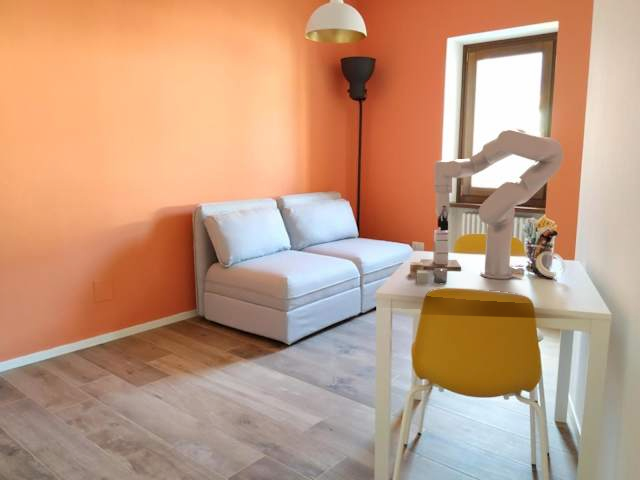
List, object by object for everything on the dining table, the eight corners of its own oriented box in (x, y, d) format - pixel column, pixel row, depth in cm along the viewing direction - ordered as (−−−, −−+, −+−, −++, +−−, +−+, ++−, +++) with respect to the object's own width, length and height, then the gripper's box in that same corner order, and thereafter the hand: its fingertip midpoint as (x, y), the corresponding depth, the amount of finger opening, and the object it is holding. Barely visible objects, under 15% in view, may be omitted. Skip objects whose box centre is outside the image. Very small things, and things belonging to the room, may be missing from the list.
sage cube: (426, 280, 206) (427, 270, 205) (427, 283, 202) (428, 273, 202) (416, 280, 207) (416, 270, 206) (417, 282, 203) (417, 272, 202)
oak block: (422, 274, 217) (422, 262, 216) (423, 277, 212) (423, 265, 211) (409, 273, 217) (410, 262, 216) (410, 276, 212) (410, 264, 211)
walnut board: (456, 263, 236) (456, 259, 235) (461, 270, 222) (461, 266, 222) (420, 262, 237) (420, 259, 237) (423, 269, 224) (423, 266, 224)
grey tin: (445, 280, 206) (446, 268, 205) (447, 283, 201) (448, 271, 200) (433, 280, 206) (433, 267, 206) (434, 283, 202) (434, 270, 201)
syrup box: (448, 264, 226) (449, 231, 224) (434, 264, 227) (435, 231, 224) (445, 261, 232) (447, 229, 229) (432, 261, 232) (433, 229, 230)
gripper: (432, 188, 233) (432, 226, 235) (436, 190, 216) (436, 231, 218) (449, 188, 232) (449, 226, 234) (455, 190, 215) (454, 231, 217)
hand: (442, 228), depth 226 cm, fingers open, 9 cm apart
